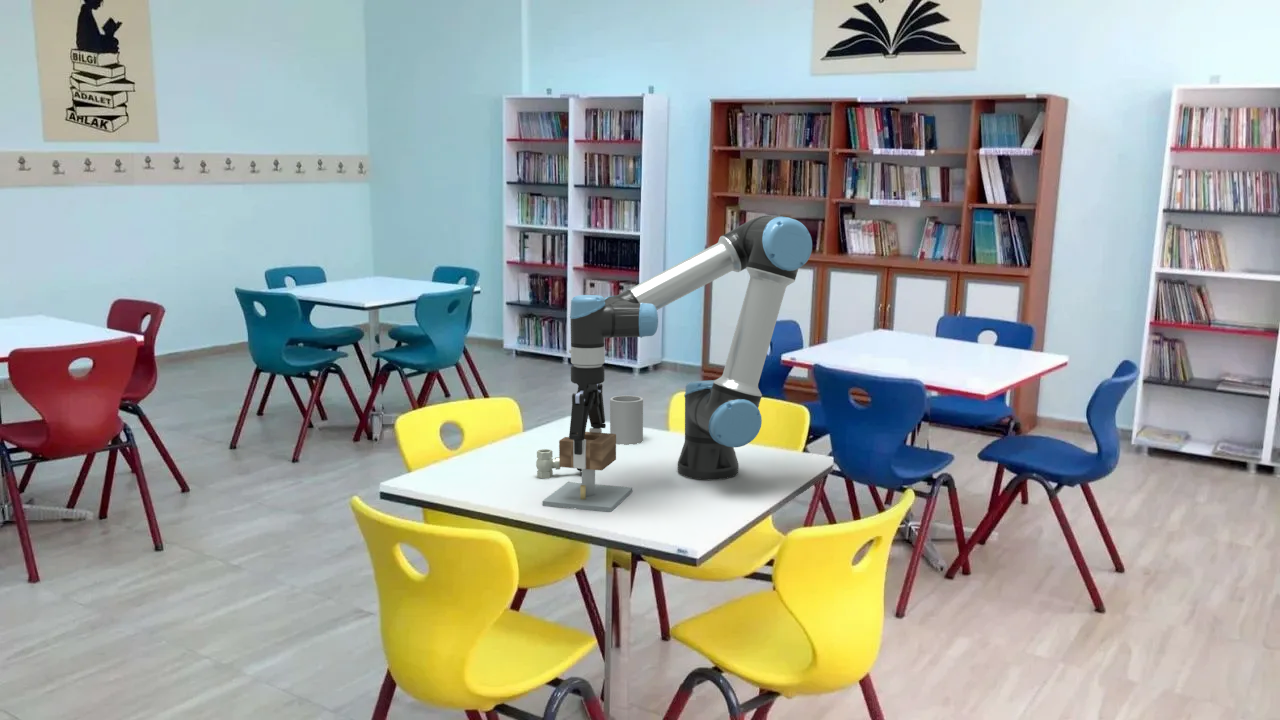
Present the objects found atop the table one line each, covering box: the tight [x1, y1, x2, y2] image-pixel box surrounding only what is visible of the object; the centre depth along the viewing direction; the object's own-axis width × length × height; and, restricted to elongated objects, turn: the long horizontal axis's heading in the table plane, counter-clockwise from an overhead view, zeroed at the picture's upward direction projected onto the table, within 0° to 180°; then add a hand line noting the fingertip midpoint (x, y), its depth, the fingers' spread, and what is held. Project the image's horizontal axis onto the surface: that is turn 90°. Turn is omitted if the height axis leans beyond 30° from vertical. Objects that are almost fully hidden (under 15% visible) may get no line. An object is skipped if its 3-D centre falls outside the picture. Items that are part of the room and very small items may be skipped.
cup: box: [609, 395, 644, 446], centre depth 287 cm, size 9×9×12 cm
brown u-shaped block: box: [558, 431, 617, 471], centre depth 232 cm, size 10×10×6 cm
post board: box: [541, 469, 634, 513], centre depth 234 cm, size 16×16×10 cm
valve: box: [535, 448, 582, 480], centre depth 252 cm, size 7×7×12 cm
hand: (587, 462), depth 233 cm, fingers closed on brown u-shaped block, 10 cm apart
